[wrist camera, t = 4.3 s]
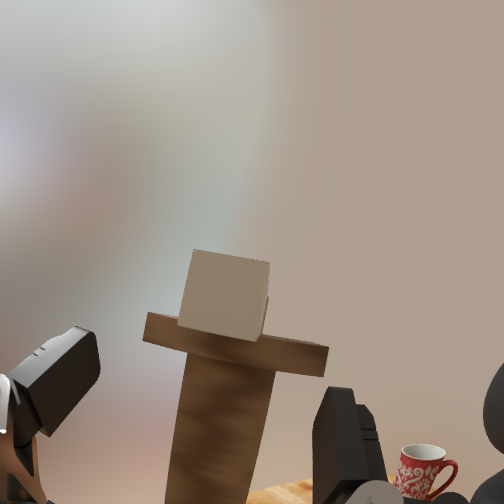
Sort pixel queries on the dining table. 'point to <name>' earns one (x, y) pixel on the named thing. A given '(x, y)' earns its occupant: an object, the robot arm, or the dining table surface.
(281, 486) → the dining table surface
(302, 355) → the stand
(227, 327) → the block
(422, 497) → the mug
